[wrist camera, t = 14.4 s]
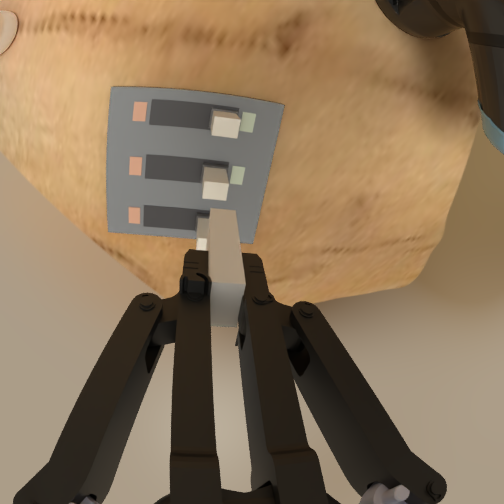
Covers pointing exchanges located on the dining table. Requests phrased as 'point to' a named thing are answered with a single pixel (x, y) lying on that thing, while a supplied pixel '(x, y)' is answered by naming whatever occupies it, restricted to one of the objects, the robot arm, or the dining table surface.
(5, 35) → the water bottle
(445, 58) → the dining table surface
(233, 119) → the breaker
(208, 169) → the breaker
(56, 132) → the dining table surface
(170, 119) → the panel
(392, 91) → the dining table surface
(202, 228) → the breaker
